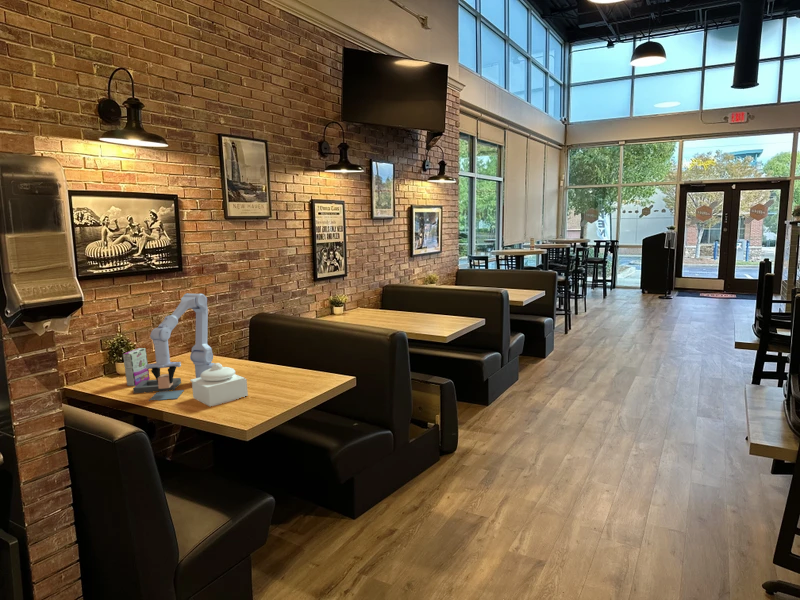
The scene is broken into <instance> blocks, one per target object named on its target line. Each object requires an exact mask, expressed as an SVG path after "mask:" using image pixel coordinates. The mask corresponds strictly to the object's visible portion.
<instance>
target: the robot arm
mask: <svg viewBox="0 0 800 600" xmlns="http://www.w3.org/2000/svg"><path fill="white" fill-rule="evenodd" d="M188 309H192V311H194V312H195V344H194V345H193V346H192V347H191V352H190V355H189V357H190V359H189V360H190V361H191V362H192V363H193V365H194V370H195V371H194V372H195V378H200V375H201V373H202V372H204V371H205V370H208V369H210V368H212V366H213V364H215V362H213V359H214V353H213V348H212V347H211V346H210V345H209V344H208V323H209V322H208V320H209V319H208V318H209V317H208V316H209V315H208V313H209V311H208V310H209V308H208V297H207V296H206V295H205V294H204V293H190V292H189V293H188V292H187V293H185V294H183V296H182V297H181V298H180V303H179V304H178V305H177V306H176V308H175V309H174V311H172V313H171V315H170V314H169V315H166V316H165V317H164V319H163V320H162V322H161V323H159V325H158V327H155V328H153V329H152V330H151V331H150V332H151V333H150V335H149V338H150V339H151V340H152V343H153V344H154V345H153V346H154V354H155V363H154V362H153V363H148V364H147V365H146V369H148V370H150V369H151V371H150V372H151V374H153V376H154V377H155V380H157V382H158V377H159V376H160V375H161V369H165V368H167V372H168V373H167V374H169V381H170V383H172V382H173V378H174V377H175V376H174V375H175V372H176V369H177V368H181V366H182V361H171V357H170V350H169V349H170V348H169V339H170V338H171V333H172V331H173V330H174V329H175V327H177V325H178V324H179V319H180V318H181V317H182V315H184V314H185V313H186V312H187V310H188Z"/></svg>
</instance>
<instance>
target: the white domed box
mask: <svg viewBox="0 0 800 600" xmlns="http://www.w3.org/2000/svg"><path fill="white" fill-rule="evenodd" d="M214 363H215V362H214ZM247 380H248V379H247V378H246V377H243V376H240V375H239V374H236V370H235V368H233V367H229V366H223V365H222V363H220V362H216V363H215V364H213V366H212V368H210V369H208V370H205V371H204V372H202V373H201V375H200V378H196V377H195V378H191V379H190V382H191V387H192V397H193V399H195V400H196V401H198V402H200V403H202V404H204V405H206V406H208V407H210V408H211V406H212V407H216V406H219V405H222V403H223V404H226V403H230V402H233V401H237V400H239V398H241V397H244V398H246V397H245V396H249V395H248V394H249V393H248V381H247ZM236 399H237V400H236ZM241 399H242V398H241Z"/></svg>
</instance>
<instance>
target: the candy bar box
mask: <svg viewBox="0 0 800 600" xmlns="http://www.w3.org/2000/svg"><path fill="white" fill-rule="evenodd" d="M122 358H123V364H124V372H125V380H126V386H128V387H135V386H136V385H138V384H139V383H140V382H141V381H143V380H151V379H150V373H149V372H150V369H146V365H147V364H149V362H148V356H147V349H146V348H145V347H144V348H143V347H138V348H135V349H133V350H130V351H127V352H125V353H122Z"/></svg>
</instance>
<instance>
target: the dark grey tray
mask: <svg viewBox="0 0 800 600" xmlns="http://www.w3.org/2000/svg"><path fill="white" fill-rule="evenodd" d="M181 383H182V377H173V385H172V386H171V387H170V388H162V389H159V387H158V382H157V380H156V379H149V380H143V381H141V382H140V383H139V384H138V385H136V386H133V388H132V391H133V394H143V393H144V392H146V393H154V392H153V391H159V392H163V391H169V390H173V391H176V389H177V388H176V387H177V386H178V387H179V386H180V384H181ZM175 388H176V389H175ZM144 394H145V393H144Z"/></svg>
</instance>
